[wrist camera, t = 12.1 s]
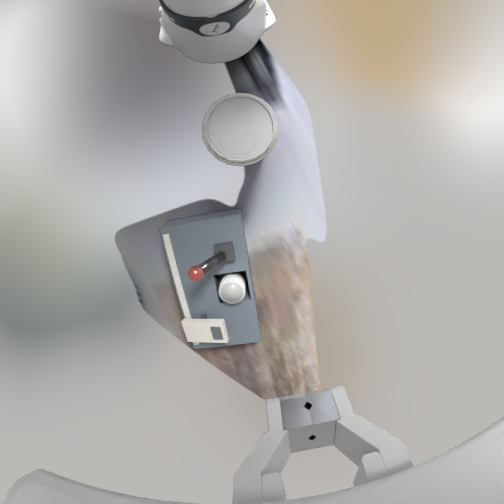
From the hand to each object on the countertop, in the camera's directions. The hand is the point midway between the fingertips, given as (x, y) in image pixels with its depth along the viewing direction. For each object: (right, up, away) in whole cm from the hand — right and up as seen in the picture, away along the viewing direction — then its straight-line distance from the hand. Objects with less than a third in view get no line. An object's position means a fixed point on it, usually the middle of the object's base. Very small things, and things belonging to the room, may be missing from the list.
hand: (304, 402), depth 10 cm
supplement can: (-4, +23, +31) cm, 39 cm away
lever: (-6, +6, +30) cm, 31 cm away
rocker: (-9, -7, +34) cm, 36 cm away
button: (-5, +1, +36) cm, 36 cm away
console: (-8, +2, +39) cm, 39 cm away
